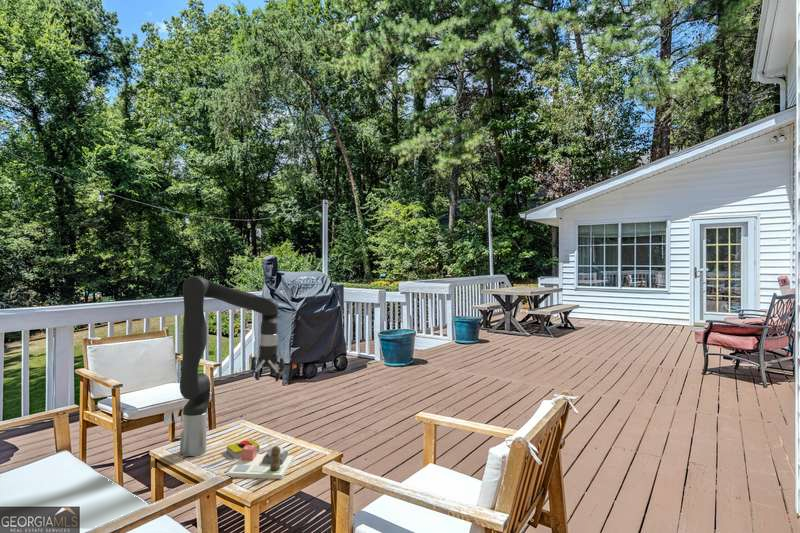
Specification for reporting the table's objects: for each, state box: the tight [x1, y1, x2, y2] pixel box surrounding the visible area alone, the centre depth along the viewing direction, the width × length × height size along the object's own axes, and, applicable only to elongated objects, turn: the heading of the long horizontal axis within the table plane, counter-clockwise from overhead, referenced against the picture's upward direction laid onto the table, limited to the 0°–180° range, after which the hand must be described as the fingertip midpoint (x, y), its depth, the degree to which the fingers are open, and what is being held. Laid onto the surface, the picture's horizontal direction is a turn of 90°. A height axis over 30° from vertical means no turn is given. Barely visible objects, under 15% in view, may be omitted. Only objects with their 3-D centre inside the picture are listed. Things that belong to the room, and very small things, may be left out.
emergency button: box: [221, 439, 264, 461], centre depth 189 cm, size 9×4×15 cm
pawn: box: [270, 445, 281, 471], centre depth 171 cm, size 4×4×9 cm
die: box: [242, 445, 258, 461], centre depth 180 cm, size 4×4×5 cm
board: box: [227, 450, 295, 480], centre depth 175 cm, size 21×17×4 cm
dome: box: [266, 445, 285, 457], centre depth 179 cm, size 6×6×4 cm
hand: (267, 380), depth 194 cm, fingers open, 8 cm apart
